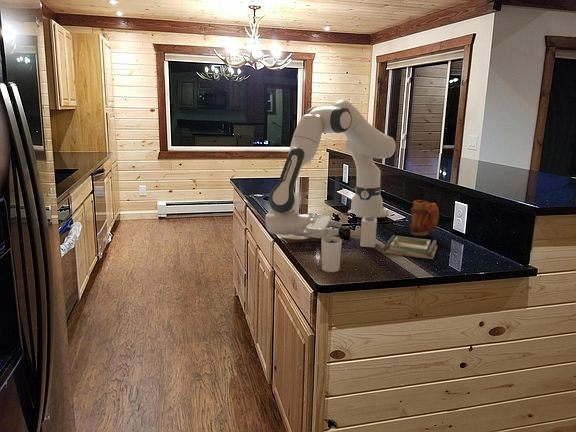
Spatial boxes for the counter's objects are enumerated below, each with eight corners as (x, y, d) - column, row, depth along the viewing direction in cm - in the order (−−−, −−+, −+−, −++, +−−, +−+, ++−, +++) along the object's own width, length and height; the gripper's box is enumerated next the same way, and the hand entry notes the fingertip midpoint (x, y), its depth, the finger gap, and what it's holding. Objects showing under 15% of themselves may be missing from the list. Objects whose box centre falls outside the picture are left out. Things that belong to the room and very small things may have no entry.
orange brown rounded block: (404, 232, 196) (406, 198, 193) (419, 231, 199) (422, 196, 195) (426, 242, 183) (429, 205, 179) (442, 240, 186) (446, 204, 182)
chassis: (390, 240, 185) (390, 233, 184) (437, 246, 178) (438, 239, 177) (381, 253, 170) (381, 245, 169) (432, 260, 163) (433, 252, 162)
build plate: (360, 240, 187) (361, 229, 186) (345, 243, 183) (346, 232, 182) (342, 233, 197) (343, 222, 196) (328, 235, 194) (328, 224, 193)
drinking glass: (318, 266, 157) (318, 237, 154) (336, 264, 158) (337, 236, 156) (324, 273, 151) (324, 243, 148) (343, 271, 152) (344, 242, 150)
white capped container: (361, 242, 183) (362, 214, 181) (375, 243, 182) (377, 215, 179) (360, 246, 178) (361, 218, 175) (374, 247, 177) (376, 219, 174)
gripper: (299, 224, 174) (336, 227, 171) (310, 211, 193) (343, 213, 190) (299, 240, 175) (336, 243, 172) (309, 226, 195) (342, 228, 191)
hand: (340, 227), depth 181 cm, fingers open, 8 cm apart
